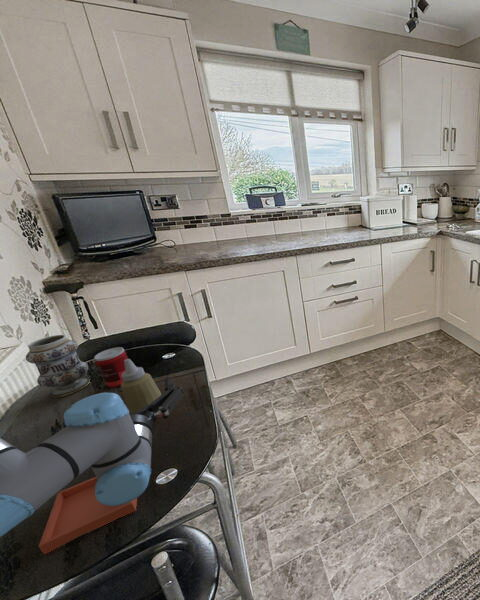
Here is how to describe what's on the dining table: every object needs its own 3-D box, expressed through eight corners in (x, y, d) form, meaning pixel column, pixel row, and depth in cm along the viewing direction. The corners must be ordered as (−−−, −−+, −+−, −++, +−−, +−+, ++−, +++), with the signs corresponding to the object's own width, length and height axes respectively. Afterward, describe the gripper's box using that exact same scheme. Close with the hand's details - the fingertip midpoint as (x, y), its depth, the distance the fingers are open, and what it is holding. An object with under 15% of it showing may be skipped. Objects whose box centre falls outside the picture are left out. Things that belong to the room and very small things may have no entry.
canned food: (135, 371, 115) (123, 344, 112) (136, 381, 110) (123, 352, 106) (107, 381, 111) (94, 353, 107) (107, 391, 105) (92, 362, 101)
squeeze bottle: (126, 422, 90) (99, 366, 83) (154, 403, 97) (131, 350, 91) (147, 427, 87) (121, 369, 81) (174, 407, 94) (152, 353, 88)
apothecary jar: (103, 375, 115) (81, 329, 109) (77, 396, 104) (51, 346, 97) (65, 380, 114) (41, 334, 107) (35, 402, 102) (6, 352, 96)
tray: (44, 555, 58) (38, 546, 57) (62, 500, 68) (57, 492, 67) (136, 511, 64) (132, 502, 63) (140, 467, 75) (136, 459, 74)
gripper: (59, 484, 64) (81, 424, 81) (201, 426, 77) (195, 384, 94) (41, 455, 62) (68, 399, 78) (192, 400, 74) (187, 362, 91)
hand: (137, 391), depth 86 cm, fingers open, 13 cm apart
